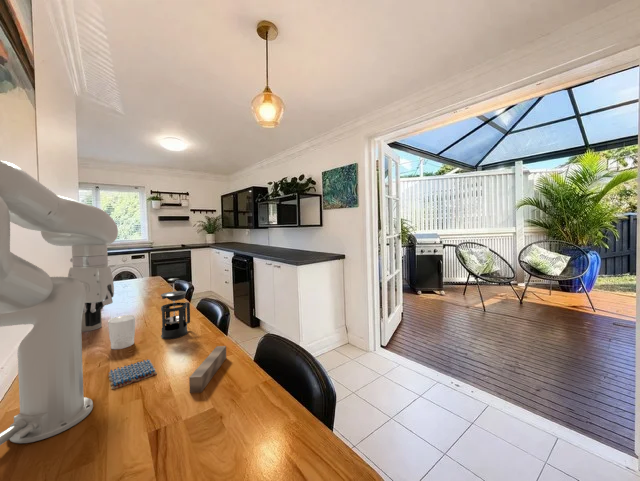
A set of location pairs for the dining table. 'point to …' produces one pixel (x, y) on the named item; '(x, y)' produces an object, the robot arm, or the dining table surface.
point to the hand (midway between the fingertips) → (93, 324)
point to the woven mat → (131, 373)
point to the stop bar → (207, 369)
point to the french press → (174, 324)
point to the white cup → (122, 331)
